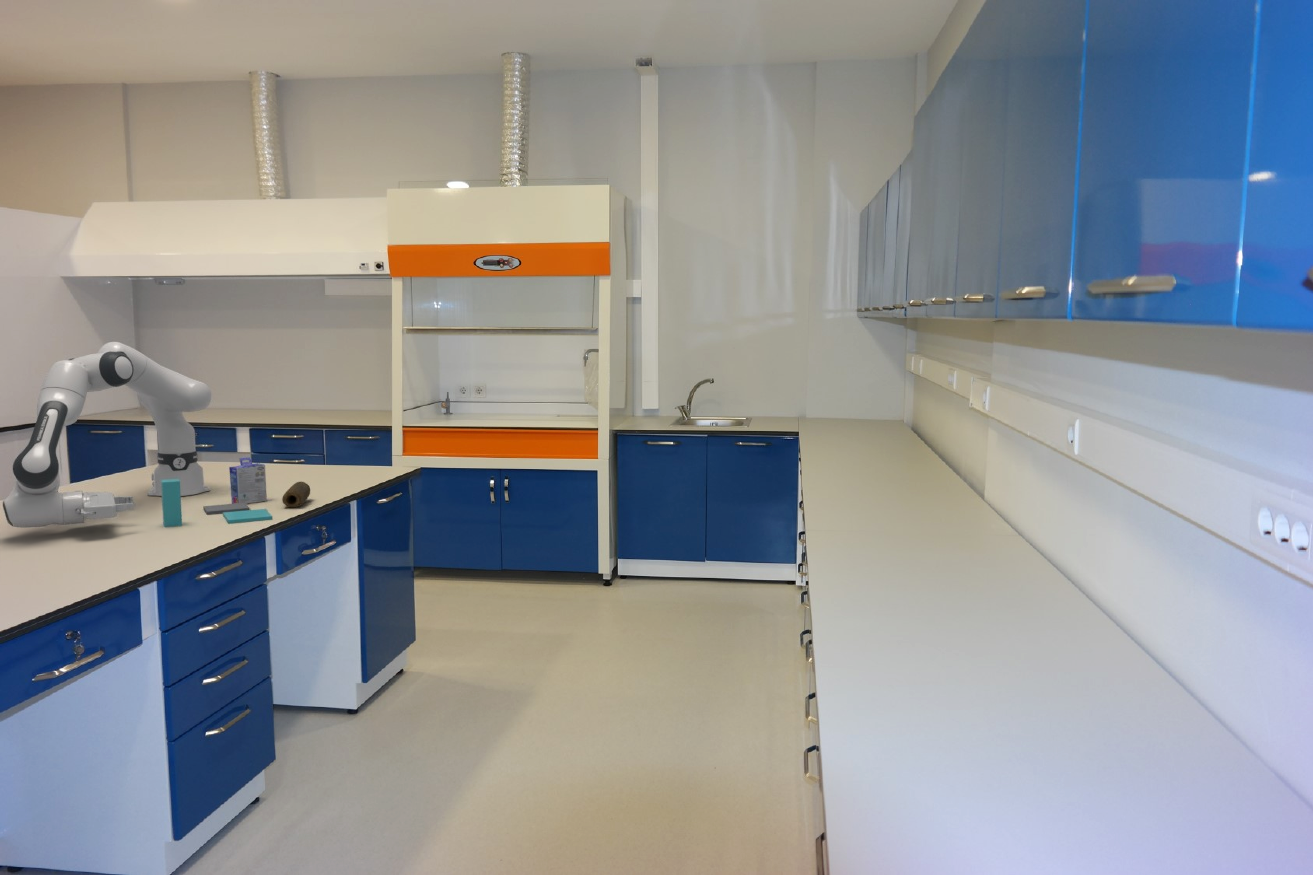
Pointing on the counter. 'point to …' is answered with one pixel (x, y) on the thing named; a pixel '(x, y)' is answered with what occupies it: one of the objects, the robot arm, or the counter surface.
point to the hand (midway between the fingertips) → (133, 502)
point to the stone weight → (296, 494)
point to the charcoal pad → (225, 508)
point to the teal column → (171, 502)
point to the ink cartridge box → (248, 482)
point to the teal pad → (247, 516)
